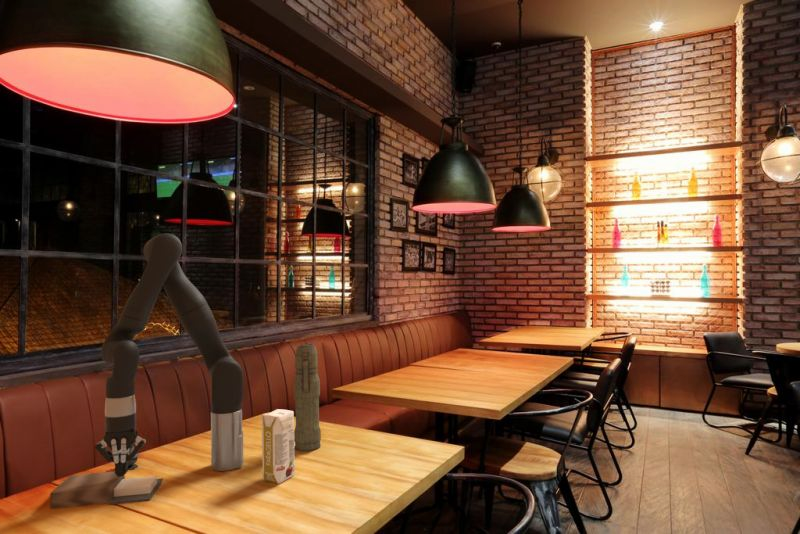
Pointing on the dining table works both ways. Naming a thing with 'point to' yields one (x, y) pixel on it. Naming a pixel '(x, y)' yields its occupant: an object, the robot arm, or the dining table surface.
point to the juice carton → (278, 445)
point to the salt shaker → (131, 462)
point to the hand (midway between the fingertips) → (121, 475)
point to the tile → (135, 486)
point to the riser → (85, 490)
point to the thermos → (307, 399)
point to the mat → (136, 496)
